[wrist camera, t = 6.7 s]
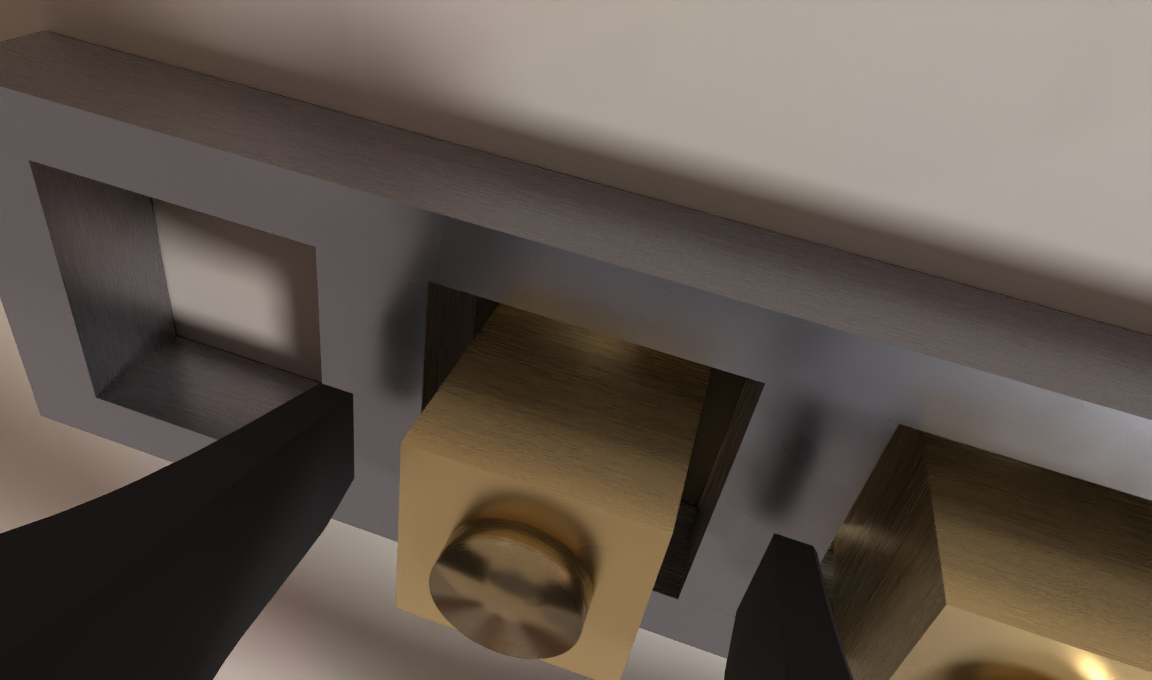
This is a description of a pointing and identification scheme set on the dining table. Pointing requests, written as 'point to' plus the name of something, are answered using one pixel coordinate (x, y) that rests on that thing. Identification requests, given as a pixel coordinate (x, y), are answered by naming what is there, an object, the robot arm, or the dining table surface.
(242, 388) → the rack rail
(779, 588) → the robot arm
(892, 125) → the dining table surface
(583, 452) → the knobbed gold cube
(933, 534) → the gold knobbed block
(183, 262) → the dining table surface
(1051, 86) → the dining table surface
